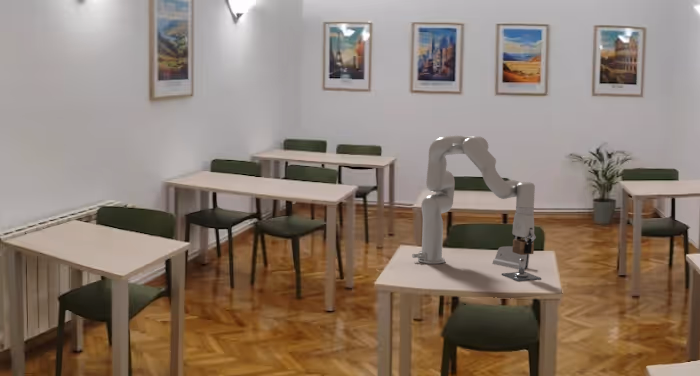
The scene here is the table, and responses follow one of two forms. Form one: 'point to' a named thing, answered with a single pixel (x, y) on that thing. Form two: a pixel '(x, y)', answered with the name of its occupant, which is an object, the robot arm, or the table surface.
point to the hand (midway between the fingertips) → (522, 251)
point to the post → (521, 273)
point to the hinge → (509, 258)
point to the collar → (521, 247)
